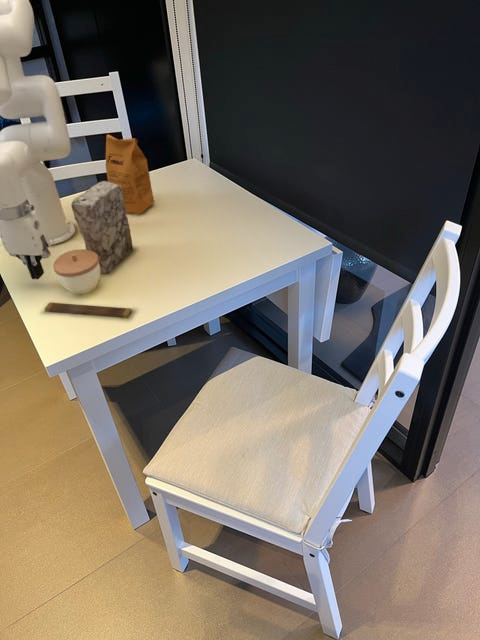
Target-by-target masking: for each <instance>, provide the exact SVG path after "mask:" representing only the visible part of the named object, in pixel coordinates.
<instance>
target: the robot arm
mask: <svg viewBox="0 0 480 640" xmlns="http://www.w3.org/2000/svg"><path fill="white" fill-rule="evenodd" d="M34 15H35V14H34V10H33V7H32V5H31V2H30V0H0V117H2V118H3V119H6V120H20V119H21V120H22V119H30V118H37V117H43V118H45V120H46V121H37V122H28V123H20V124H13V125H9V126H6V127H4V128H2V129H1V130H0V240H1V243H2V245H3V248H4V250H5V251H6V253H8V255H9V256H11V257H14V258H18V260H20V261H21V262H22V264H23V265H24V266H26V267H27V269H28V273H29V275H30V278H31V279H32V280H39V279H41V278H42V277H43V275H44V274H45V270H44V268H43V265H42V262H41V261H42V260H43V259H48V258H49V257H50V256H51V255H52V253H51V251H50V249H49V248H50V247H51V246H52V245H57V244H60V243H63V242H65V241H67V240H69V239H70V238H72V236H74V234H75V232H76V228H75V225H74V224H73V223H72V222H69V221H68V220H67V217H66V214H65V211H64V208H63V205H62V201H61V198H60V195H59V192H58V189H57V185H56V183H55V178H54V176H53V173H52V172H51V171H50V170H49V168H48V167H47V166H45V164H44V163H42V162H46V161H53V160H54V161H55V160H60V159H61V160H62V159H64V158H67V157H68V156H70V154H71V152H72V151H71V150H72V146H71V145H72V144H71V140H70V135H69V130H68V126H67V121H66V116H65V111H64V108H63V104H62V98H61V95H60V91H59V88H58V87H57V84H56V82H55V81H54V80H53V79H52V78H51V76H48V75H45V74H36V75H28V76H27V75H25V74H24V73H25V72H24V69H23V64H22V61H21V58H23V57H27V56H28V55H29V54H31V51H32V48H33V43H34V42H33V40H34V39H33V38H34V31H35V30H34V29H35V16H34Z"/></svg>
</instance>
